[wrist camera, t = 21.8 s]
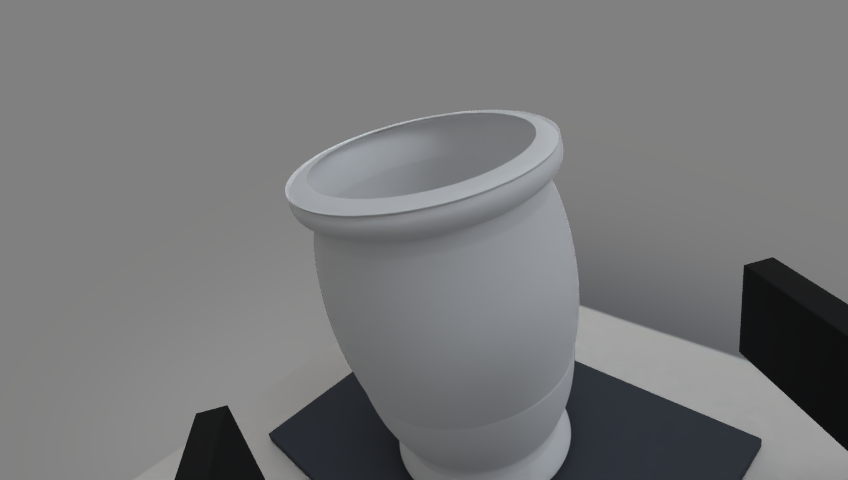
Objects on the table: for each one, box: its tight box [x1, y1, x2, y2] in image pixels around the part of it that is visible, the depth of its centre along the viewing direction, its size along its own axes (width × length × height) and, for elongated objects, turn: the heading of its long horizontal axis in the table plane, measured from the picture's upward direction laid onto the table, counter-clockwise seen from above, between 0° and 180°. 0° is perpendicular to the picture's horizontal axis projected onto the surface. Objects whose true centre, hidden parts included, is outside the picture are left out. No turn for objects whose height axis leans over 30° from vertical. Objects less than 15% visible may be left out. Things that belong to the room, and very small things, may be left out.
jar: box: [285, 110, 579, 480], centre depth 24 cm, size 11×10×15 cm
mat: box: [269, 361, 761, 480], centre depth 27 cm, size 20×14×1 cm
